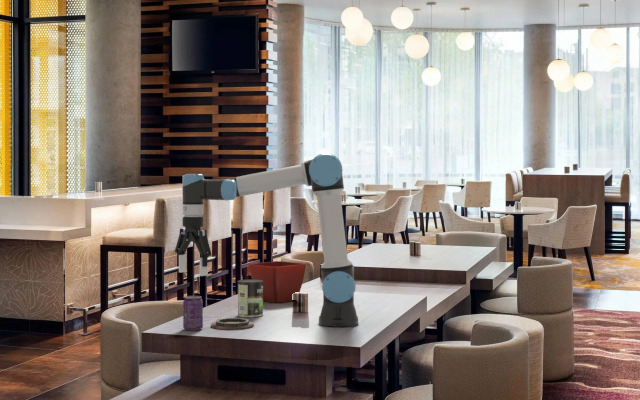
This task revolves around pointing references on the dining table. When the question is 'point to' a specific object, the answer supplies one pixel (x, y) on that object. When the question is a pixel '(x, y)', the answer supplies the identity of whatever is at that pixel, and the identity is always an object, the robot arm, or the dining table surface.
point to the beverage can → (192, 313)
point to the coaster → (232, 324)
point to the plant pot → (278, 279)
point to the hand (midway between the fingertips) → (192, 274)
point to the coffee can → (250, 298)
